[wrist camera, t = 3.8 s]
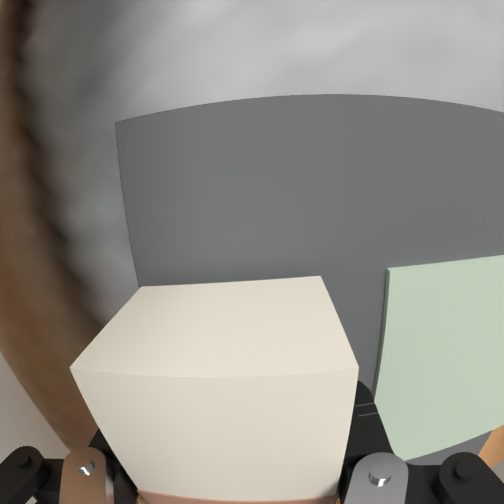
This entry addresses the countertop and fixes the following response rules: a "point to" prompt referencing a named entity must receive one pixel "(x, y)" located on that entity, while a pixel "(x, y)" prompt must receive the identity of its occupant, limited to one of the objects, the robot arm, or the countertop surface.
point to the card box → (225, 391)
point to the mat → (345, 236)
